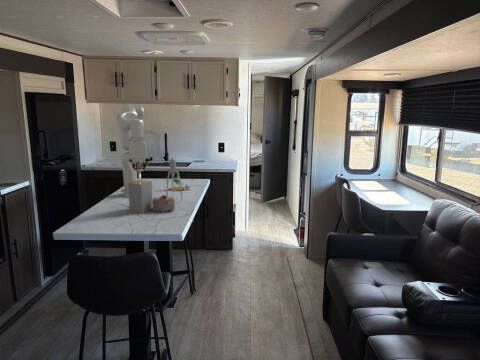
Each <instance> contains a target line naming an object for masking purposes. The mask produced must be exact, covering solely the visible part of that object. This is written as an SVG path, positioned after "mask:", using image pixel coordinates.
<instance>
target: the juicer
mask: <svg viewBox="0 0 480 360" xmlns="http://www.w3.org/2000/svg"><path fill="white" fill-rule="evenodd" d="M170 175H171V181H172V182H171V188H172V190H171V191H172V193H171V194H172V195H174V190H173V188H174V183H173V182H174V178H175V175H176V176H177V175H178V178H179V182H180V184H179V187H180V189H181V190H180V199H181V201H183V191H182V190H183V189H182V187H183V186H182V185H181V184H182V180H181V177H180V173H179V170H178V169H177V163H176V159H175V158H174V157H172V158H171V157H170V159H169V170H168V173H167V179H166V196H167V197H169V194H168V193H169V190H168V189H169V179H170ZM181 186H182V187H181Z"/></svg>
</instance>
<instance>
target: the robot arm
mask: <svg viewBox="0 0 480 360" xmlns="http://www.w3.org/2000/svg"><path fill="white" fill-rule="evenodd" d="M144 116H145V110H144V107H143V106H142V104H125V105H124V106H122V107H121V112H117V113H116V115H115V120H116V123H117V126H118V128H119V131H120V139H121V140H120V141H121V148H122V149H123V150H124V151H128V152H124V153H122V154H121V155H120V162H121V167H122V176H123V188H121V190H120V192H121V193H122V192H123V193H122V197H125V198H129V190H128V183H130V182H133V181H137V180H138V172H137V171H135V169H136V164H135V162H142V169H143V170H146V163H147V162H148V161H149V160H150V159H151V158H152V156H151V155H150V154H149V153H148V150H147V144H146V143H147V142H146V141H145V137H144V128H145V123H144V122H145V121H143V119H144Z"/></svg>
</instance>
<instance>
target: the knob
mask: <svg viewBox="0 0 480 360" xmlns="http://www.w3.org/2000/svg"><path fill="white" fill-rule="evenodd" d="M135 164H136V165H135V171H137V176H138V180H139V183H141V180H142V179H141V178H142V177H141V176H142V175H141V172H144V169H143V165H142V162H135Z"/></svg>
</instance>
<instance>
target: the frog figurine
mask: <svg viewBox="0 0 480 360" xmlns="http://www.w3.org/2000/svg"><path fill="white" fill-rule="evenodd" d="M171 183H172V180H171ZM178 185H180V182H179V178H178V175H177V174H176V176H175V177H174V178H173V191H181V189H180V186H178ZM182 185H183V186H182ZM181 187H182V190H184V191H187V190H188V191H189V190H190V191H191V188H190V186H188V184H187V183H186V184H185V186H184V183H183V182H181ZM169 190H170V191H172V187H171V188H168V191H169Z"/></svg>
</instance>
